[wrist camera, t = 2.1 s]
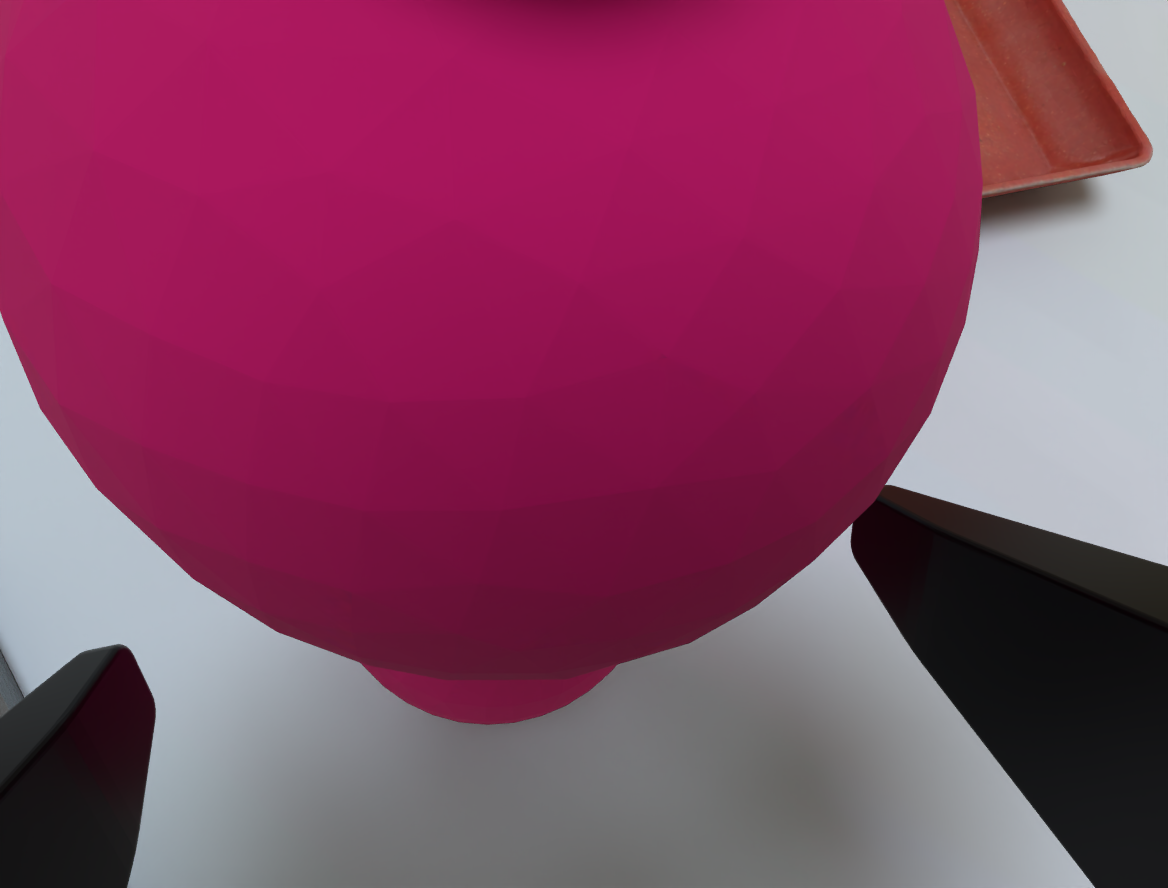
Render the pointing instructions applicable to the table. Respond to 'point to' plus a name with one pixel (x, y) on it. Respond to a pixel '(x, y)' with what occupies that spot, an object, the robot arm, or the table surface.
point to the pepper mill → (487, 304)
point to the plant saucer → (1042, 97)
